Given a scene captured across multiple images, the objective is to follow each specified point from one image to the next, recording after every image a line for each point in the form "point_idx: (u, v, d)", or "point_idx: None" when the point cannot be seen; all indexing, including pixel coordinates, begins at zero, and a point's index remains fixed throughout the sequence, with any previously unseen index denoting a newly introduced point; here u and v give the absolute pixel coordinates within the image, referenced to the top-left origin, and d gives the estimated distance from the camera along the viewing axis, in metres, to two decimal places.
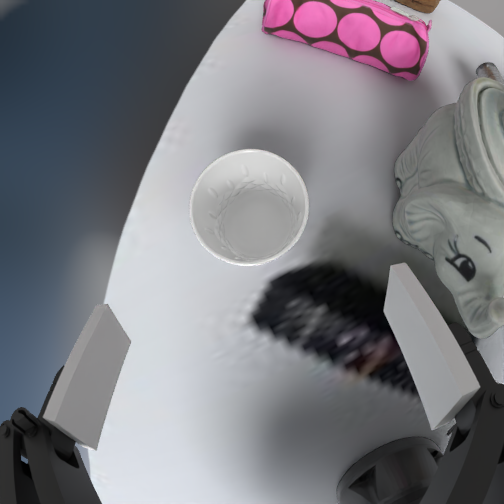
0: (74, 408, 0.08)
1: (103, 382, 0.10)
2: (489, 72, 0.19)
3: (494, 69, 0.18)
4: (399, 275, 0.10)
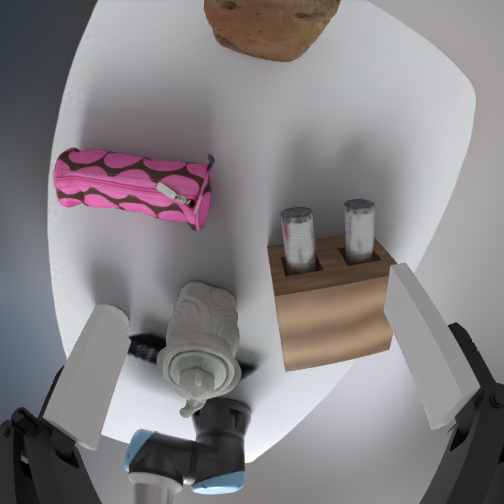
0: (74, 408, 0.08)
1: (103, 382, 0.10)
2: (287, 230, 0.32)
3: (297, 228, 0.31)
4: (399, 275, 0.10)
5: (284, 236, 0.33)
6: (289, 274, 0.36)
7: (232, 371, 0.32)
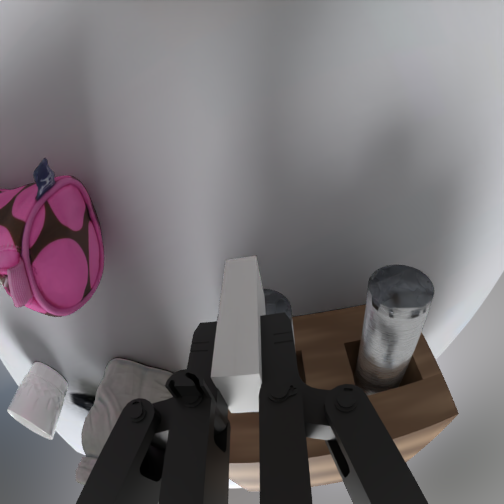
0: None
1: None
2: None
3: None
4: (242, 266, 0.13)
5: None
6: None
7: None
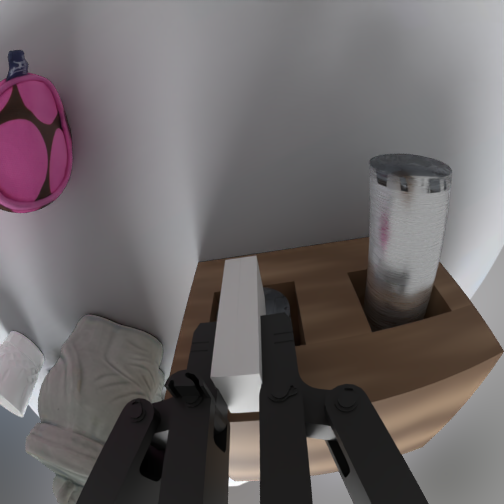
0: None
1: None
2: None
3: None
4: (242, 266, 0.13)
5: None
6: None
7: None
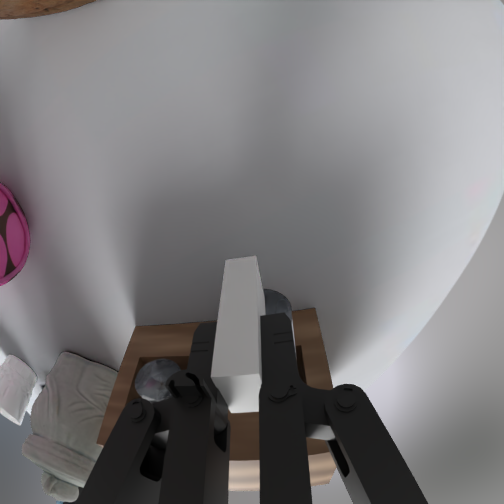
0: None
1: None
2: None
3: None
4: (242, 266, 0.13)
5: None
6: None
7: None
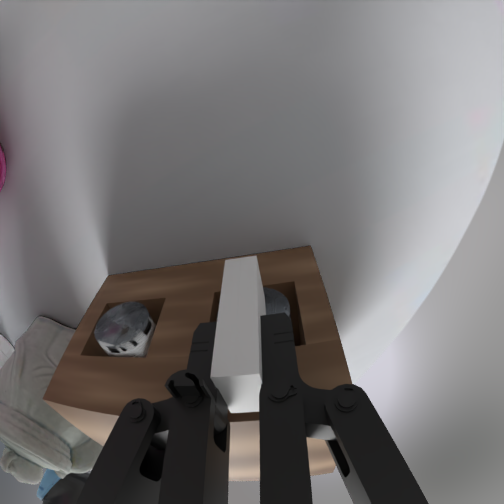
0: None
1: None
2: None
3: None
4: (242, 266, 0.13)
5: None
6: None
7: (54, 465, 0.13)
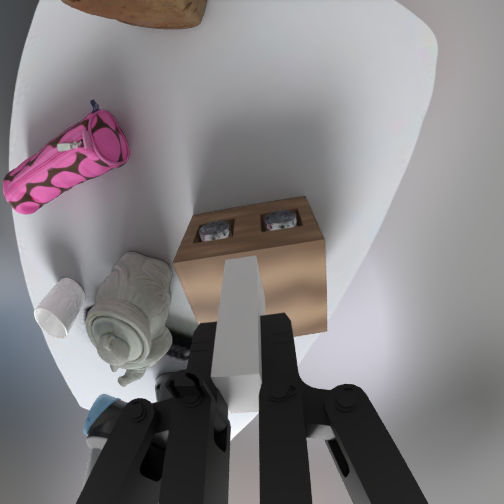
0: None
1: None
2: None
3: None
4: (242, 266, 0.13)
5: None
6: None
7: (145, 340, 0.32)
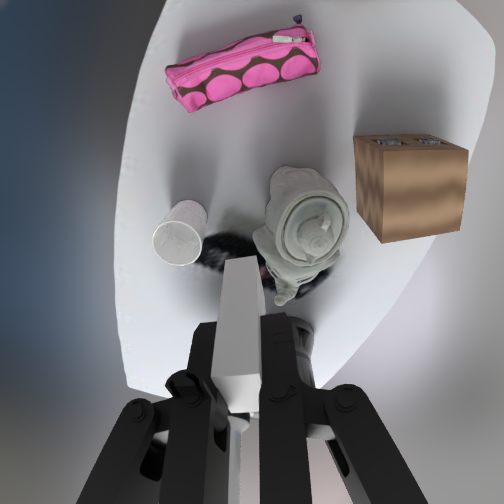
0: None
1: None
2: None
3: None
4: (242, 266, 0.13)
5: None
6: None
7: (347, 226, 0.34)
